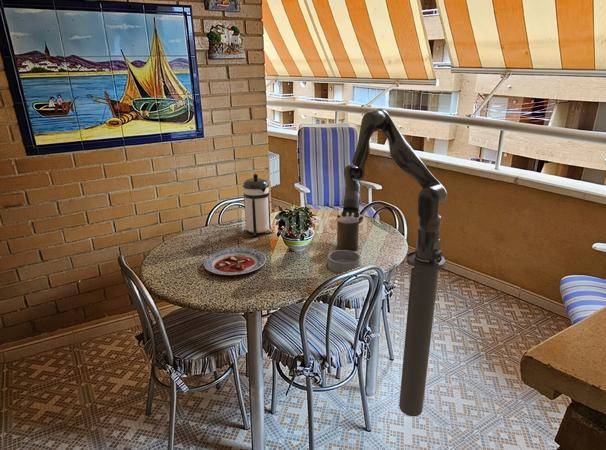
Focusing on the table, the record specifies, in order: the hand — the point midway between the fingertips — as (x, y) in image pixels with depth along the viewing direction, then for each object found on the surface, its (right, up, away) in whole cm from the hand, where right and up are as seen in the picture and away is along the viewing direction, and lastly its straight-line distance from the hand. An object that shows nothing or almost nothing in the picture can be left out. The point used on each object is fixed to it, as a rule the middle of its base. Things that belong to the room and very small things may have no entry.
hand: (348, 234), depth 190 cm
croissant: (-20, 0, +13) cm, 24 cm away
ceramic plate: (-50, -12, -20) cm, 55 cm away
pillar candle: (-1, -6, -3) cm, 7 cm away
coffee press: (-45, +1, +17) cm, 48 cm away
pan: (-4, -12, -22) cm, 25 cm away
